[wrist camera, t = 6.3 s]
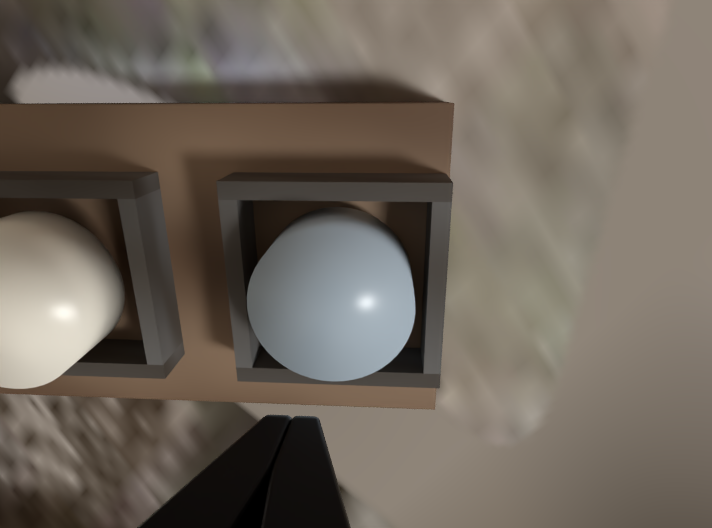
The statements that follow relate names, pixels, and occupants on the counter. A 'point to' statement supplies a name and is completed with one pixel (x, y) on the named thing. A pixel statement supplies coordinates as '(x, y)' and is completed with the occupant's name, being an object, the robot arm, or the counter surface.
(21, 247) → the cream button
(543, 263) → the counter surface
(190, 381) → the button board
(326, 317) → the slate button
